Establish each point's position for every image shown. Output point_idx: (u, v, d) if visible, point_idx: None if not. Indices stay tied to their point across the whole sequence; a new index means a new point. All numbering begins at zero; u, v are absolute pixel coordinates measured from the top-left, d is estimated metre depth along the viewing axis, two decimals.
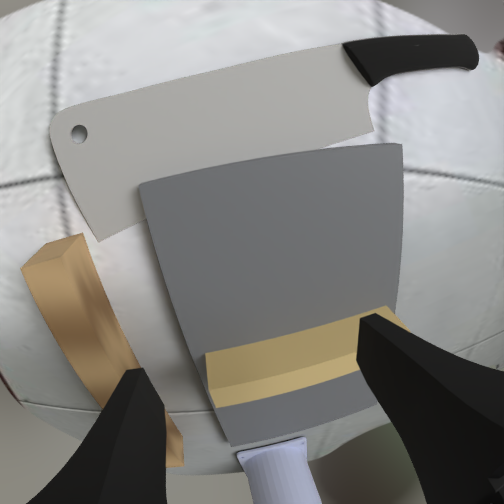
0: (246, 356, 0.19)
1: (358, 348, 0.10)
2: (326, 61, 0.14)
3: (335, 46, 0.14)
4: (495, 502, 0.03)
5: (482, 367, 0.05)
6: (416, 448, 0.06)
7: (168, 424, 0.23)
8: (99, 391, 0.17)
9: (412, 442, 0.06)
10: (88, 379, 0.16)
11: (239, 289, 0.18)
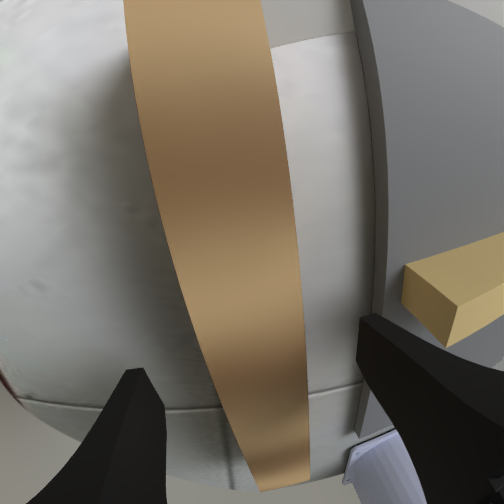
0: (464, 261, 0.11)
1: (358, 348, 0.10)
2: None
3: None
4: (495, 502, 0.03)
5: (482, 367, 0.05)
6: (416, 448, 0.06)
7: None
8: (231, 353, 0.08)
9: (412, 442, 0.06)
10: (215, 320, 0.08)
11: (460, 153, 0.10)
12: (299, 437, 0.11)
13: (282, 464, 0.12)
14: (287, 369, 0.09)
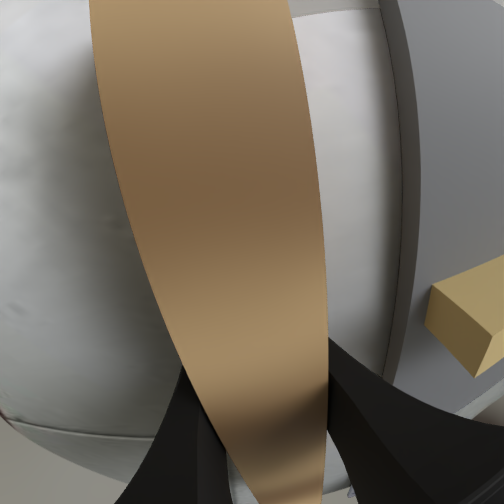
0: (493, 279, 0.09)
1: None
2: None
3: None
4: None
5: (421, 404, 0.05)
6: (354, 476, 0.06)
7: None
8: (239, 408, 0.06)
9: (351, 469, 0.06)
10: (219, 376, 0.06)
11: (493, 160, 0.08)
12: (313, 473, 0.09)
13: (293, 496, 0.10)
14: (305, 418, 0.07)
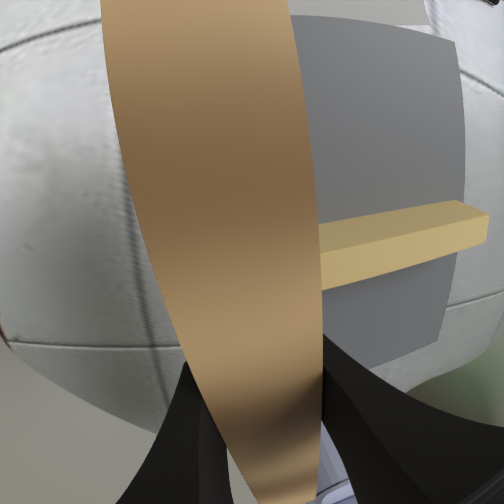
0: (330, 230, 0.16)
1: None
2: None
3: None
4: None
5: (420, 404, 0.05)
6: (354, 477, 0.06)
7: None
8: (237, 397, 0.07)
9: (350, 470, 0.06)
10: (217, 364, 0.06)
11: (324, 143, 0.15)
12: (308, 466, 0.09)
13: (288, 490, 0.10)
14: (300, 408, 0.07)
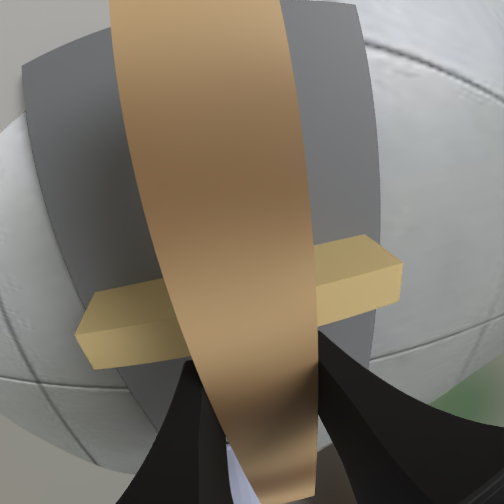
0: (140, 294, 0.13)
1: None
2: None
3: None
4: None
5: (420, 404, 0.05)
6: (354, 477, 0.06)
7: None
8: (236, 385, 0.07)
9: (350, 470, 0.06)
10: (217, 352, 0.07)
11: (126, 187, 0.12)
12: (306, 459, 0.10)
13: (287, 484, 0.11)
14: (297, 398, 0.08)
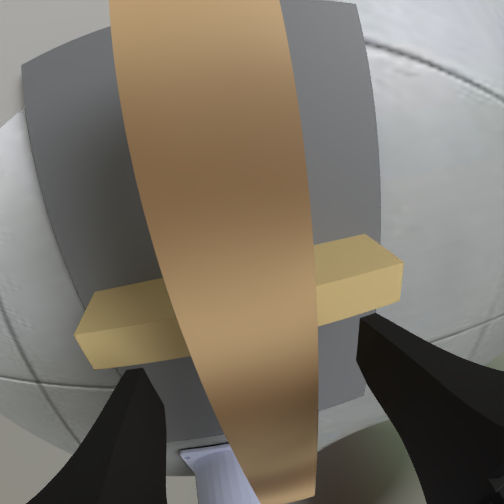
0: (140, 294, 0.13)
1: (358, 348, 0.10)
2: None
3: None
4: (495, 502, 0.03)
5: (482, 367, 0.05)
6: (416, 448, 0.06)
7: None
8: (235, 384, 0.07)
9: (412, 442, 0.06)
10: (217, 351, 0.07)
11: (126, 186, 0.12)
12: (306, 459, 0.10)
13: (286, 484, 0.11)
14: (297, 398, 0.08)
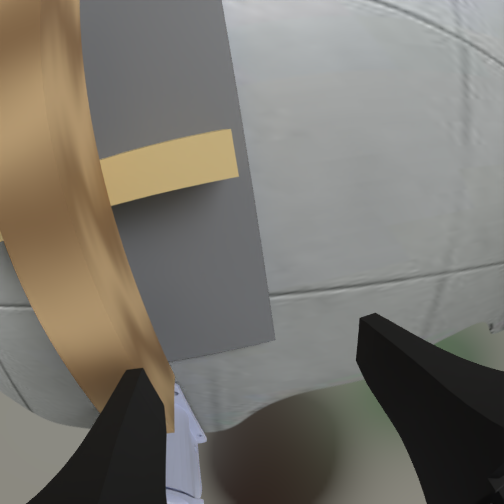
0: None
1: (358, 348, 0.10)
2: None
3: None
4: (495, 502, 0.03)
5: (482, 367, 0.05)
6: (416, 448, 0.06)
7: (146, 338, 0.13)
8: (5, 189, 0.07)
9: (412, 442, 0.06)
10: None
11: None
12: (108, 339, 0.09)
13: (114, 389, 0.10)
14: (51, 213, 0.07)
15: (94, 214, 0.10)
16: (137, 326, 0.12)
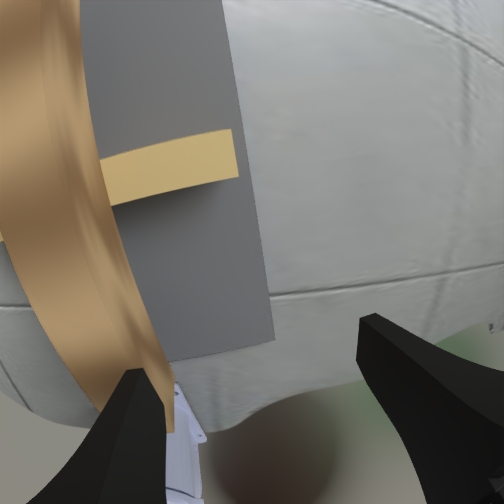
0: None
1: (358, 348, 0.10)
2: None
3: None
4: (495, 502, 0.03)
5: (482, 367, 0.05)
6: (416, 448, 0.06)
7: (146, 338, 0.13)
8: (5, 189, 0.07)
9: (412, 442, 0.06)
10: None
11: None
12: (108, 339, 0.09)
13: (114, 389, 0.10)
14: (51, 213, 0.07)
15: (94, 214, 0.10)
16: (137, 326, 0.12)
